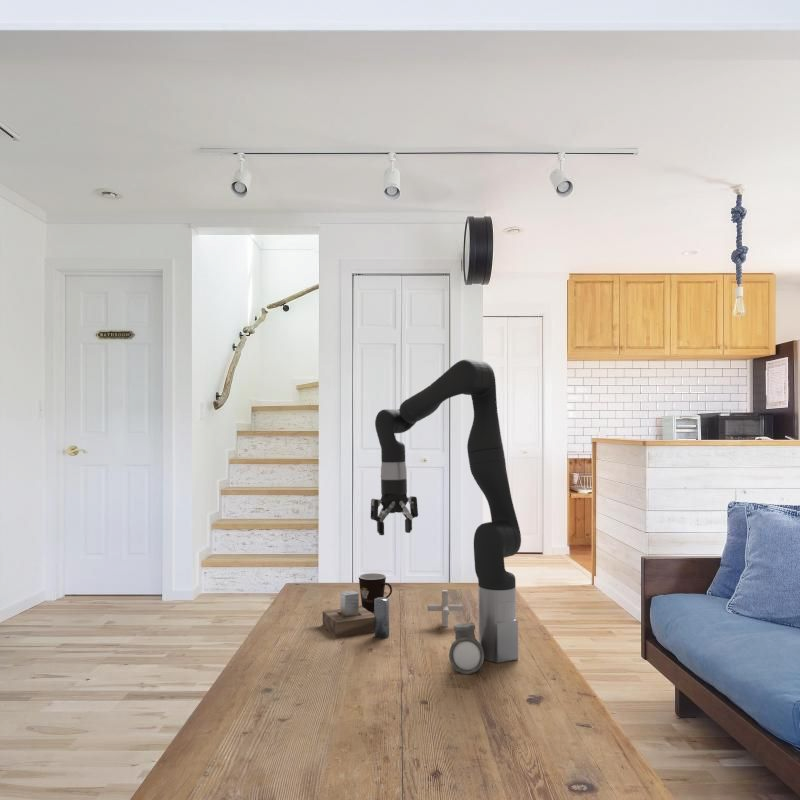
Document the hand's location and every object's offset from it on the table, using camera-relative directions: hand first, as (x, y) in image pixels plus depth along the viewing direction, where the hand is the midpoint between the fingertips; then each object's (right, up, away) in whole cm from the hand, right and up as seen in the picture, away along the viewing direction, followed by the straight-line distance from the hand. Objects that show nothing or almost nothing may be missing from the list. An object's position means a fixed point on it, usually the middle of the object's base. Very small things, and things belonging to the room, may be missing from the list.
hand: (394, 533), depth 189 cm
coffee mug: (-7, -27, +14) cm, 31 cm away
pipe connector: (+14, -26, -2) cm, 30 cm away
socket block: (-13, -26, -4) cm, 29 cm away
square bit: (-13, -26, -4) cm, 29 cm away
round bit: (-3, -26, -11) cm, 28 cm away
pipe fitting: (+18, -25, -33) cm, 45 cm away
